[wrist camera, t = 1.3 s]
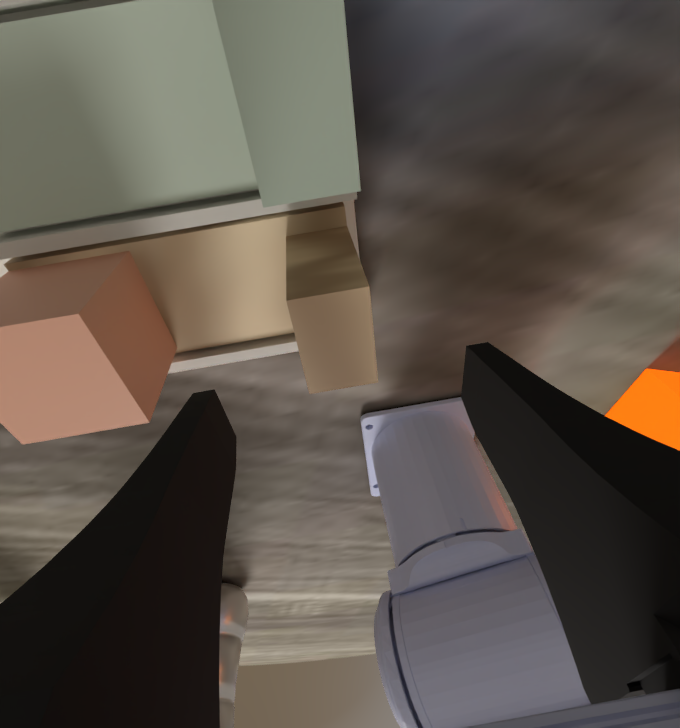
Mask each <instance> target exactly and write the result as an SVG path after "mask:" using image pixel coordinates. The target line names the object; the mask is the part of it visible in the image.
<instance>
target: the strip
mask: <svg viewBox="0 0 680 728" xmlns="http://www.w3.org/2000/svg"><path fill="white" fill-rule="evenodd" d="M253 189H259V193H260V197H261V201H262V205H263V208H264V207H270V206H276V205H282V204H288V203H294V202H300V201H306V200H312V199H317V198H323V197H329V196H335V195H341V194H347V193H353V192H359V191H361V187H360V176H359V165H358V153H357V142H356V131H355V120H354V109H353V98H352V87H351V76H350V65H349V54H348V42H347V31H346V20H345V9H344V0H137V1H131V2H125V3H119V4H113V5H107V6H101V7H95V8H89V9H83V10H77V11H71V12H65V13H59V14H53V15H47V16H41V17H35V18H29V19H23V20H17V21H11V22H5V23H0V232H6V231H12V230H18V229H23V228H29V227H35V226H41V225H47V224H53V223H59V222H65V221H71V220H77V219H82V218H88V217H94V216H100V215H106V214H112V213H118V212H124V211H130V210H135V209H141V208H147V207H153V206H159V205H165V204H171V203H177V202H183V201H189V200H194V199H200V198H206V197H212V196H218V195H224V194H230V193H236V192H242V191H248V190H253Z"/></svg>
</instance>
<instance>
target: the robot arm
mask: <svg viewBox="0 0 680 728" xmlns="http://www.w3.org/2000/svg"><path fill="white" fill-rule="evenodd" d="M360 420H361V427H362V434H363V441H364V449H365V456H366V463H367V470H368V477H369V484H370V491H371V495H373V496H380V497H381V502H382V506H383V511H384V516H385V520H386V525H387V529H388V534H389V538H390V543H391V548H392V552H393V557H394V561H395V566H396V568H394V569H391V570H389V571H388V577H389V582H390V587H391V590H390V591H386V592H384V593H383V594H382V596H381V597H380V600H379V605H378V607H377V610H376V613H375V619H374V637H375V647H376V654H377V660H378V665H379V670H380V675H381V679H382V682H383V686H384V689H385V693H386V696H387V699H388V702H389V705H390V707H391V710H392V712H393V715H394V717H395V719H396V721H397V723H398V724H399V726H400V727H401V728H680V450H677V449H675V448H672V447H670V446H668V445H665V444H663V443H661V442H658V441H656V440H654V439H651V438H649V437H647V436H645V435H643V434H640V433H638V432H636V431H634V430H632V429H630V428H628V427H626V426H624V425H622V424H620V423H618V422H616V421H614V420H612V419H610V418H608V417H606V416H604V415H602V414H600V413H598V412H597V411H595V410H593V409H591V408H589V407H588V406H586V405H584V404H582V403H581V402H579V401H577V400H575V399H574V398H572V397H570V396H568V395H567V394H565V393H564V392H562V391H560V390H559V389H557V388H555V387H554V386H552V385H551V384H549V383H547V382H546V381H544V380H543V379H541V378H540V377H538V376H537V375H535V374H534V373H532V372H531V371H529V370H528V369H526V368H525V367H523V366H522V365H520V364H519V363H517V362H516V361H515V360H513V359H512V358H510V357H509V356H507V355H506V354H504V353H503V352H501V351H500V350H499V349H497V348H496V347H494V346H493V345H491V344H489V343H488V342H487V343H481V344H475V345H469V346H466V355H465V365H464V375H463V385H462V395H461V397H458V398H452V399H446V400H441V401H435V402H429V403H423V404H418V405H412V406H406V407H400V408H394V409H389V410H383V411H377V412H371V413H366V414H364V415H362V417H361V419H360ZM475 433H476V435H477V437H478V439H479V441H480V442H481V444H482V446H483V448H484V450H485V452H486V454H487V455H488V457H489V459H490V461H491V463H492V464H493V466H494V468H495V470H496V472H497V474H498V475H499V477H500V479H501V481H502V483H503V484H504V486H505V488H506V490H507V492H508V494H509V496H510V498H511V500H512V502H513V504H514V506H515V508H516V510H517V512H518V514H519V517H520V519H521V521H522V524H523V526H524V528H525V531H526V533H527V536H528V538H529V540H530V543H531V545H532V547H531V545H530V544H529V542H528V540H527V538H526V536H525V534H524V532H523V530H522V529H518V528H517V526H516V524H515V522H514V520H513V518H512V516H511V514H510V512H509V510H508V508H507V506H506V504H505V502H504V500H503V498H502V496H501V494H500V492H499V490H498V488H497V486H496V484H495V482H494V480H493V478H492V476H491V474H490V472H489V470H488V468H487V466H486V464H485V462H484V460H483V458H482V456H481V454H480V452H479V449H478V447H477V445H476V443H475V441H474V435H475ZM235 471H236V435H235V433H234V431H233V429H232V427H231V424H230V422H229V420H228V418H227V416H226V413H225V411H224V409H223V407H222V405H221V403H220V400H219V398H218V396H217V394H216V392H215V390H209V391H203V392H198V393H193V394H192V396H191V397H190V398H189V400H188V401H187V402H186V404H185V405H184V407H183V408H182V409H181V411H180V412H179V414H178V415H177V416H176V418H175V419H174V421H173V422H172V423H171V425H170V426H169V428H168V429H167V430H166V432H165V433H164V435H163V436H162V437H161V439H160V440H159V441H158V443H157V444H156V445H155V447H154V448H153V449H152V451H151V452H150V453H149V455H148V456H147V457H146V459H145V460H144V461H143V462H142V463H141V465H140V466H139V467H138V468H137V470H136V471H135V472H134V473H133V475H132V476H131V477H130V478H129V480H128V481H127V482H126V483H125V484H124V486H123V487H122V488H121V489H120V490H119V491H118V493H117V494H116V495H115V496H114V497H113V498H112V499H111V501H110V502H109V503H108V504H107V505H106V506H105V507H104V508H103V509H102V510H101V511H100V512H99V513H98V514H97V516H96V517H95V518H94V519H93V520H92V521H91V522H90V523H89V524H88V525H87V526H86V527H85V528H84V529H83V530H82V531H81V532H80V533H79V534H78V535H77V536H76V537H75V538H74V539H73V540H72V541H70V542H69V543H68V544H67V545H66V546H65V547H64V548H63V549H62V550H61V551H60V552H59V553H58V554H57V555H56V556H55V557H54V558H53V559H52V560H51V561H49V562H48V563H47V564H46V565H45V566H44V567H43V568H42V569H41V570H40V571H38V572H37V573H36V574H35V575H34V576H33V577H32V578H31V579H29V580H28V581H27V582H26V583H25V584H24V585H23V586H21V587H20V588H19V589H18V590H17V591H15V592H14V593H13V594H12V595H11V596H10V597H8V598H7V599H6V600H5V601H4V602H2V603H1V604H0V728H220V699H219V650H220V608H221V584H222V565H223V554H224V545H225V538H226V532H227V525H228V519H229V512H230V506H231V499H232V492H233V485H234V479H235ZM532 548H533V549H532ZM533 550H534V551H533ZM534 553H535V554H534ZM535 555H536V556H535Z"/></svg>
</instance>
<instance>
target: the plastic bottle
mask: <svg viewBox="0 0 680 728" xmlns="http://www.w3.org/2000/svg"><path fill="white" fill-rule="evenodd" d="M248 615H249V613H248V600H247V597H246V595H245V593H244V591H243V590H242V589H241V588H240V587H238V586H236V585H233V584H228V583H222V584H221V608H220V650H219V699H220V728H234V708H235V707H234V700H235V686H236V679H237V672H238V665H239V659H240V652H241V646H242V641H243V638H244V635H245V631H246V625H247V620H248Z"/></svg>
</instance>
